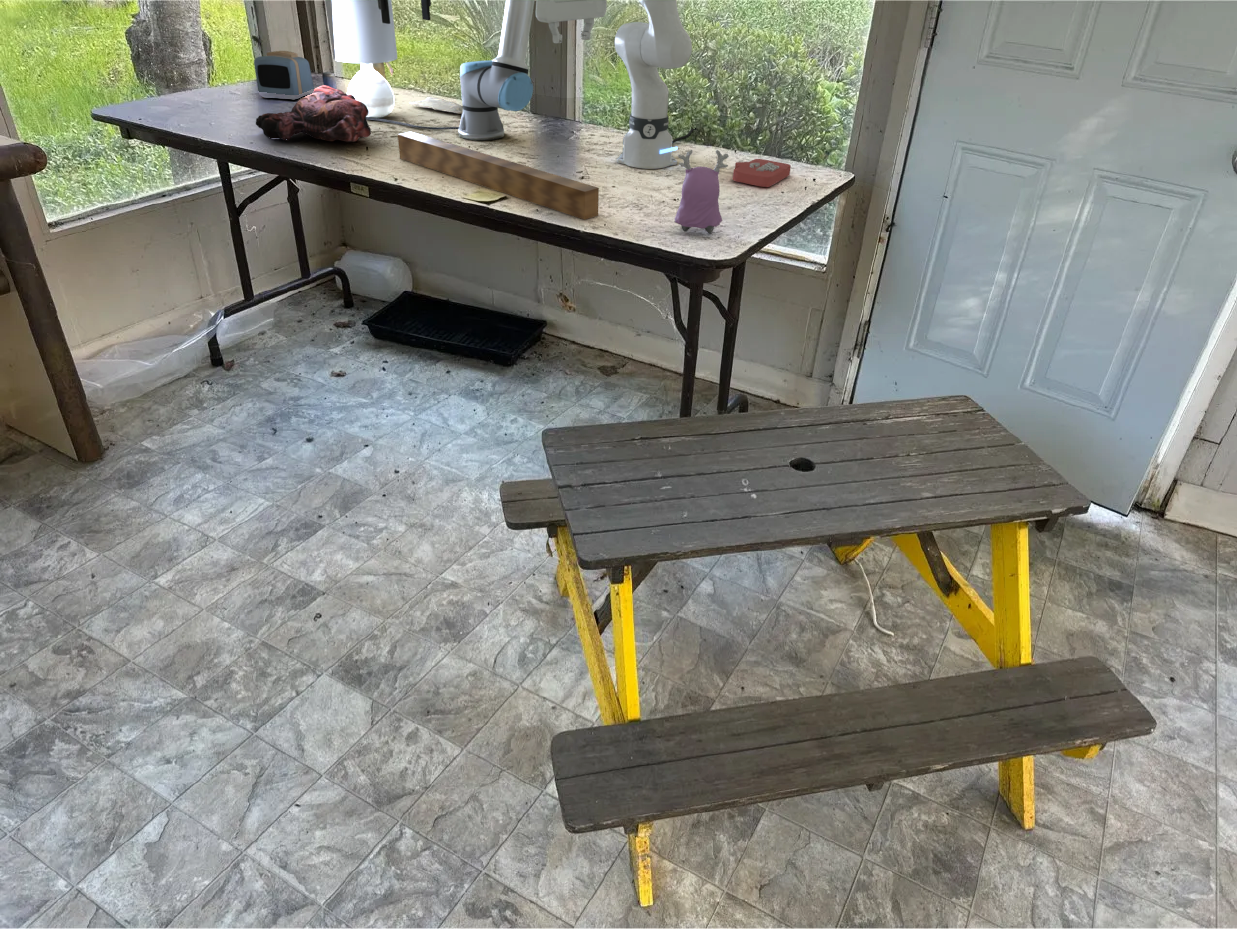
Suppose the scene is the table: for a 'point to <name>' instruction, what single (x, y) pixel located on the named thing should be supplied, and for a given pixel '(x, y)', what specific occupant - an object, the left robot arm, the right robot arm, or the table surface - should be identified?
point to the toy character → (700, 195)
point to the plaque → (760, 172)
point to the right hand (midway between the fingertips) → (571, 41)
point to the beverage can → (329, 79)
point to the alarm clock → (283, 73)
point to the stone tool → (439, 105)
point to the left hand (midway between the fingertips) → (406, 21)
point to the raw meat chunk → (320, 117)
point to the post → (501, 175)
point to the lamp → (364, 49)
